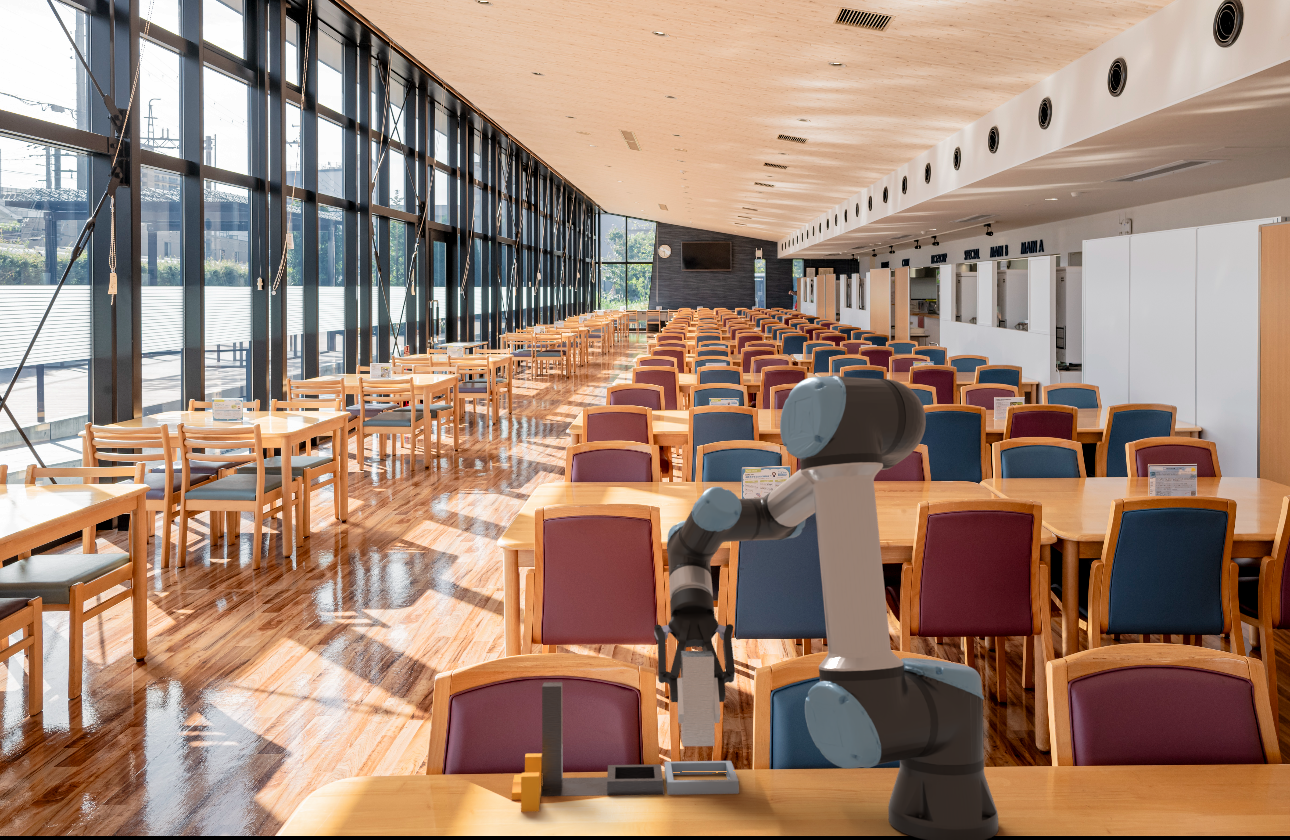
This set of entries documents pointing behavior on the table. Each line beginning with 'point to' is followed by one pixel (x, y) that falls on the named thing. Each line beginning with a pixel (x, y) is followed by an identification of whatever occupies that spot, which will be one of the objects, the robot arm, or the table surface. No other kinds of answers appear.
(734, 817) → the table surface
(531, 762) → the pipe clamp
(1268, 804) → the table surface
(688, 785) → the parts tray
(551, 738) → the dark grey post stand
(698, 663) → the light grey tall block
